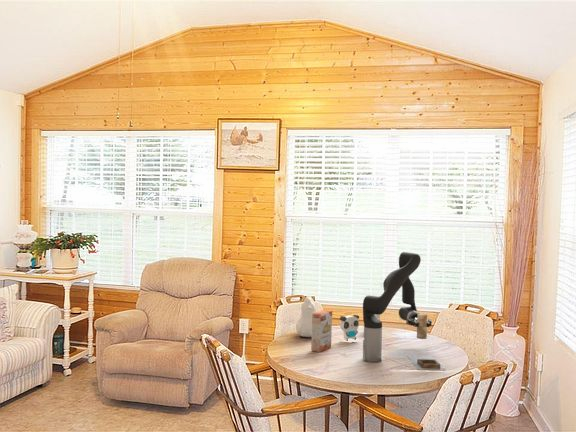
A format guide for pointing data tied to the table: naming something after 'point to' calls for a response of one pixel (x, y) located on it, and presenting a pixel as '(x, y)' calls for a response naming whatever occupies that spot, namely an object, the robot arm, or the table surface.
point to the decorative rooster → (306, 318)
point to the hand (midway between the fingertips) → (423, 325)
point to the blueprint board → (414, 358)
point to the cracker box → (321, 330)
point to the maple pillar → (422, 326)
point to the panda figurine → (349, 326)
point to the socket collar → (428, 363)
